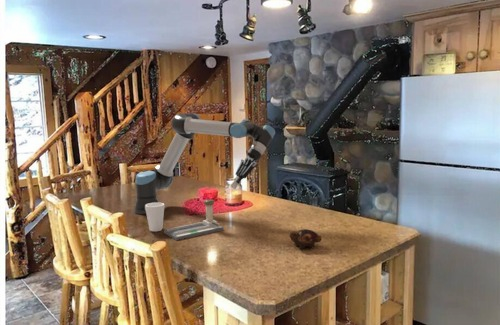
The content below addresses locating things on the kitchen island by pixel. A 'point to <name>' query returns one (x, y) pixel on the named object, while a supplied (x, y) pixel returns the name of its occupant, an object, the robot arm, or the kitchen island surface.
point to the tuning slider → (209, 213)
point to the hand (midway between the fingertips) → (232, 187)
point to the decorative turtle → (305, 238)
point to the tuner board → (192, 230)
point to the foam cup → (155, 215)
